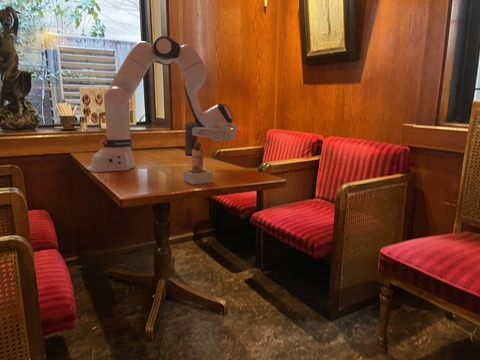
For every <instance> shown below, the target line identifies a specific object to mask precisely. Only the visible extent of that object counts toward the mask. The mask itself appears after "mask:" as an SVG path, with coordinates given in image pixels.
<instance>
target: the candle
mask: <svg viewBox="0 0 480 360" xmlns="http://www.w3.org/2000/svg"><path fill="white" fill-rule="evenodd" d="M195 127H196V125H195V121H185V123H184V130H185V131H184V138H185V139H184V154H185V155H186V156H187V155H189V156H190V155H191V156H192V149H195V148H194V144H195V143H197V142H198V136H194V135H192V129H193V128H195Z"/></svg>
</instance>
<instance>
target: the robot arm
mask: <svg viewBox="0 0 480 360" xmlns="http://www.w3.org/2000/svg"><path fill="white" fill-rule="evenodd" d="M154 62H155V63H157V64H161V65H163V66H170V65H172V64H173V63H176V64H178V66H179V68H180V69H181V71H182V73H183V75H184V79H185V84H184V86H183V87H184V88H183V90H184V93H185V96H186V99H187V102H188V105H189V107H190V111H191V114H192V116H193V120H194V121H193V122H194V123H195V125H196V127H195V128H193V129H192V135H194V136H197V137H206V138H211V140H213V141H214V142H222V141H223V142H224V141H235V140H236V136H237V132H238V128H237V127H238V126H237V124H235V122H233V119H234V118H233V115H232V112H231V110H230V109H229V107H227V106H226V105H225V104H222V103H218V104H214V106H212V107H210V108H208V109H207V110H205V111H202V110H203V109H202V108H201V104H200V102H199V99H198V93H199V91H200V89H201V88H202V86H203V85H204V84H205V82H206V80H207V78H208V77H207V76H208V71H207V67H206V65H205V63H204V62H203V59H202V58H201V55H199V53H198V51H197V50H196V49H195V47H194V46H193V45H191V44H189V43H187V44H183V45H180V44H179V43H178V42H177V41H175V40H174V39H172V38H171V37H169V36H166V35H161V36H158V37H156V39H155V40H154V41H153V43H149V42H147V41H144V40H140V41H138V42H137V43H135V45H133V47H132V48H131V49H130V51H129V52H128V54H127V56H126V57H125V58H124V60H123V62H122V64H121V65H120V67H119V69H118V71H117V72H116V74H115V77H114V78H113V80H112V81H111V83H110V85H109V87H108V89H106V91H105V92H104V95H103V102H104V103H103V104H104V105H103V106H104V114H105V129H106V139H101V140H100V141H99V144H101V145H102V148H101V149H99V150H98V151H97V152H96V153H95V154H93V155H92V158H91V164H89V165H88V166H87V167H86V169H87V171H89V172H94V173H99V172H114V171H128V170H130V169H133V168H136V165H135V160H134V156H133V152H132V149H133V141H132V138H131V121H130V120H131V118H130V117H131V116H130V100H131V98H132V97H133V95H134V94H135V92H136V90H137V88H138V87H139V86H140V83H141V82H142V80H143V79H144V77H145V75H146V73H147V72H148V70H149V68H150V67H151V65H152V64H153V63H154Z"/></svg>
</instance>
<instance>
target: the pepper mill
mask: <svg viewBox="0 0 480 360" xmlns="http://www.w3.org/2000/svg"><path fill="white" fill-rule="evenodd" d="M201 146H202V145H201V143H200V142H199V141H197V143H195V144H194V148H195V149H192V155H191V156H192V157H191V161H192V166H191V168H192V169H191V170H192V173H194V174H196V173H203V169H204V150H203V149H202V148H201Z"/></svg>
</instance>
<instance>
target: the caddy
mask: <svg viewBox="0 0 480 360" xmlns="http://www.w3.org/2000/svg"><path fill="white" fill-rule="evenodd" d="M213 175H214V174H213V171H210V170H208V169H204V168H203V173H196V174H194V173H192V169H187V170H182V182H184V183H187V184H189V185H191V186H197V185H198V186H199V185H207V184H213V181H214V179H213Z"/></svg>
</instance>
